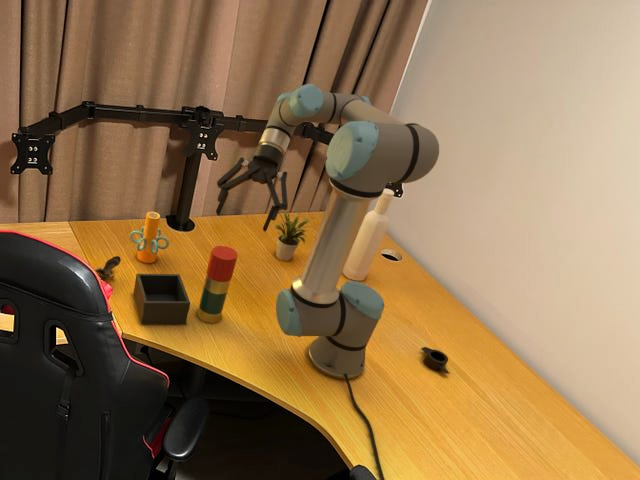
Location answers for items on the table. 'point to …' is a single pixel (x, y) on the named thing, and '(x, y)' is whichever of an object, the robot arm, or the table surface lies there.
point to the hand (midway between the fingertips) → (240, 221)
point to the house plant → (289, 237)
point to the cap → (221, 263)
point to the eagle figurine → (108, 268)
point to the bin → (161, 299)
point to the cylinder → (149, 239)
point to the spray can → (212, 300)
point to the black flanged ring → (435, 359)
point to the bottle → (368, 239)
